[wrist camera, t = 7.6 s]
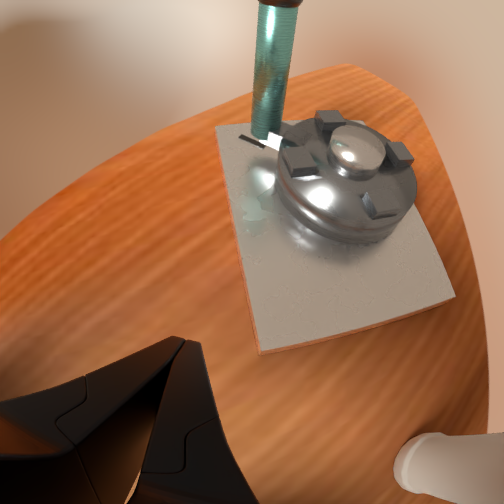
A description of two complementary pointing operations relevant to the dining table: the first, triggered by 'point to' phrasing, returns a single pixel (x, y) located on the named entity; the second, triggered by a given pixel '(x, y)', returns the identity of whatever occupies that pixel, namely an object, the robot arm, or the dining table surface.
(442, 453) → the bottle
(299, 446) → the dining table surface
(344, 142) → the joystick
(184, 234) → the dining table surface
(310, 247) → the base plate
